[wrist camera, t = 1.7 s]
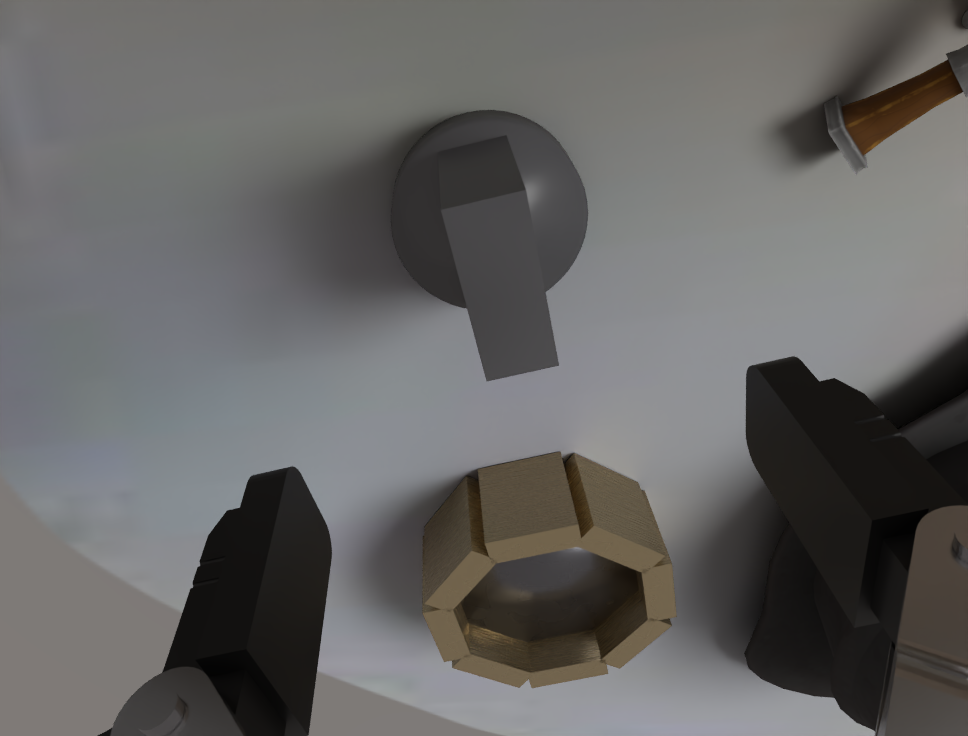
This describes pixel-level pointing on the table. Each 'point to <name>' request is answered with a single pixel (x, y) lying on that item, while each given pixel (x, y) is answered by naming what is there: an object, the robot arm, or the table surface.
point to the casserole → (818, 615)
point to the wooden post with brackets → (894, 107)
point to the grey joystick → (492, 229)
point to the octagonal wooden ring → (545, 572)
